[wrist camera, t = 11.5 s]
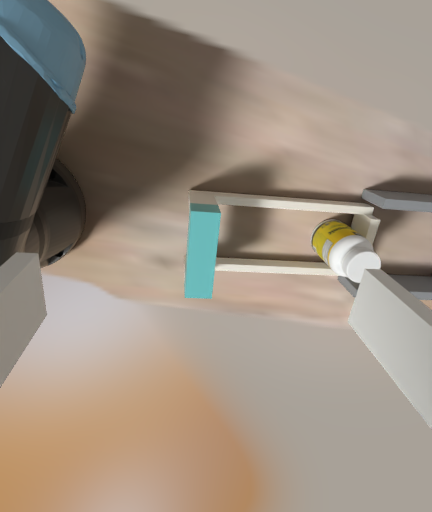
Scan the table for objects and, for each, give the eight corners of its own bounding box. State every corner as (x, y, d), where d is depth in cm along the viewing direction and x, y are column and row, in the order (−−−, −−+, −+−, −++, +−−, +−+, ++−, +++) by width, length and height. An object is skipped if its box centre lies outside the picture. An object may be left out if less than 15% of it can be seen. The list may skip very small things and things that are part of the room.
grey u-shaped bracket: (337, 279, 48) (354, 297, 44) (363, 189, 42) (385, 198, 38) (435, 283, 50) (460, 300, 46) (472, 197, 45) (504, 208, 40)
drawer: (183, 262, 44) (184, 297, 36) (188, 189, 40) (190, 211, 32) (346, 269, 47) (380, 303, 39) (366, 203, 43) (409, 225, 35)
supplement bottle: (351, 219, 44) (394, 248, 35) (340, 255, 46) (378, 290, 38) (314, 216, 43) (349, 243, 35) (305, 252, 46) (335, 287, 37)
